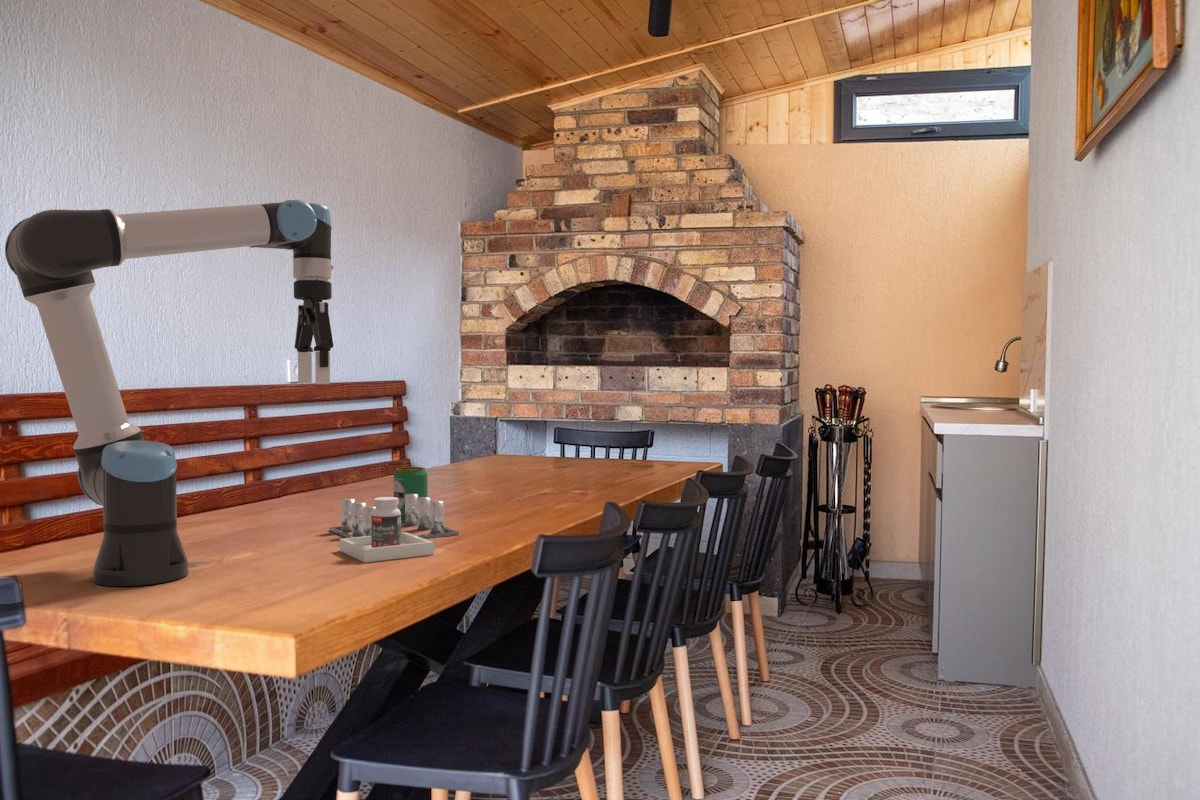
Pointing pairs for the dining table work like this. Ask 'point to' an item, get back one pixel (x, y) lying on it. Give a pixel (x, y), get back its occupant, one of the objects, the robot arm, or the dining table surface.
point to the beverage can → (409, 485)
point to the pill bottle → (385, 522)
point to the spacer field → (416, 513)
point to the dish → (386, 548)
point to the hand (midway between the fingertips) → (313, 383)
